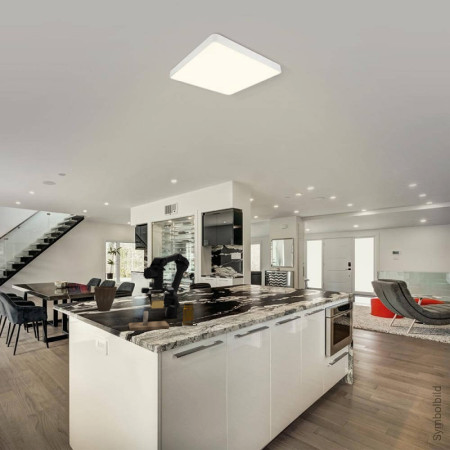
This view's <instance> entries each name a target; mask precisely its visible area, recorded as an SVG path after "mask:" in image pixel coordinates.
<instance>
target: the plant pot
mask: <svg viewBox="0 0 450 450" xmlns="http://www.w3.org/2000/svg"><path fill="white" fill-rule="evenodd" d="M117 289H118V287H117V286H114V285H113V286H112V285H106V286H105V285H99V286H94V287H93V291H94V300H95V303H96V304H95V305H96V306H97V310H98V311H99V312H109V311H111V308H112V306H113V305H114V301H115V298H116V293H117Z"/></svg>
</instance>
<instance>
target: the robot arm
mask: <svg viewBox="0 0 450 450" xmlns="http://www.w3.org/2000/svg"><path fill="white" fill-rule="evenodd" d="M172 262H174V263H175V268H176V271H175V274H174V277H173V280H172V283H171V286H168V287H165V288H164V274H165V273H164V272H165V271H167V270H166V266H167V265H168V264H169V263H172ZM189 267H190V261H189V259H188V258H187V257H185V256H184V255H182V254H181V253H180V252H179V253H177V252H175V253H172V254H169V255H166V256H163V257H162V256H156V257H154V258H153V259H152V261H151V263H150V265H149V266H147V267H146V269H145V270H144V272H143V278H144V279H145V280H153V281H149V282H148V283H149V284H148V287H141V288H140V292H141V293H140V294H145V295H146V296H147V297H148V301H149V306H151V305H152V301H153V300H152V293H157V292H158V293H163V294H162V295H163V297H162V301H163V302H164V307H163V308H166V309H165V314H164V315H165V317H166V319H178V309H179V308H180V306H181V303H180V302H179V296H178V291H179V289H180V287H181V282H182V280H183V277H184V273H186V271H187V270H188V269H189Z"/></svg>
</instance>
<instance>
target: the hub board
mask: <svg viewBox="0 0 450 450" xmlns="http://www.w3.org/2000/svg"><path fill="white" fill-rule="evenodd" d="M142 316H143V318H142V322H140V321H139V322H129V323H128V328H129V332H133V331H134V332H135V331H136V332H137V331H149V330H167V329H170V325H169V323H168V322H167V321H166V320H161V321H148V320H149V311H148V310H145V311H143V315H142Z"/></svg>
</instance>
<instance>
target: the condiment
mask: <svg viewBox="0 0 450 450" xmlns="http://www.w3.org/2000/svg"><path fill="white" fill-rule="evenodd" d="M182 312H183V313H182V323H181V326H183V327H184V326H189V327H190V326H193V327H194V326H195V325H193V323H194V314H195V308H194V303H193V302H184V304H183V311H182Z"/></svg>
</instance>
